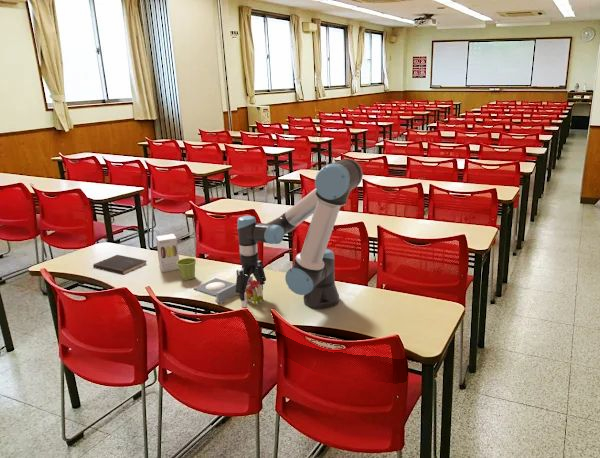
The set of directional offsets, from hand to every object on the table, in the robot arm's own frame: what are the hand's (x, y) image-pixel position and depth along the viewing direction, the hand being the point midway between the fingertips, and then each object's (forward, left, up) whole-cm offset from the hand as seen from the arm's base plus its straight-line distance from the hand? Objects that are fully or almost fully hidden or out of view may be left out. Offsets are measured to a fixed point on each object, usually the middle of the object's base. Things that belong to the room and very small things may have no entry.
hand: (252, 302), depth 209 cm
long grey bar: (+13, -3, 0) cm, 13 cm away
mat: (+26, -3, 0) cm, 26 cm away
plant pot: (+46, -4, 0) cm, 46 cm away
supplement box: (+65, -8, 0) cm, 65 cm away
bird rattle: (0, 0, 0) cm, 0 cm away
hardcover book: (+91, +4, -1) cm, 91 cm away
